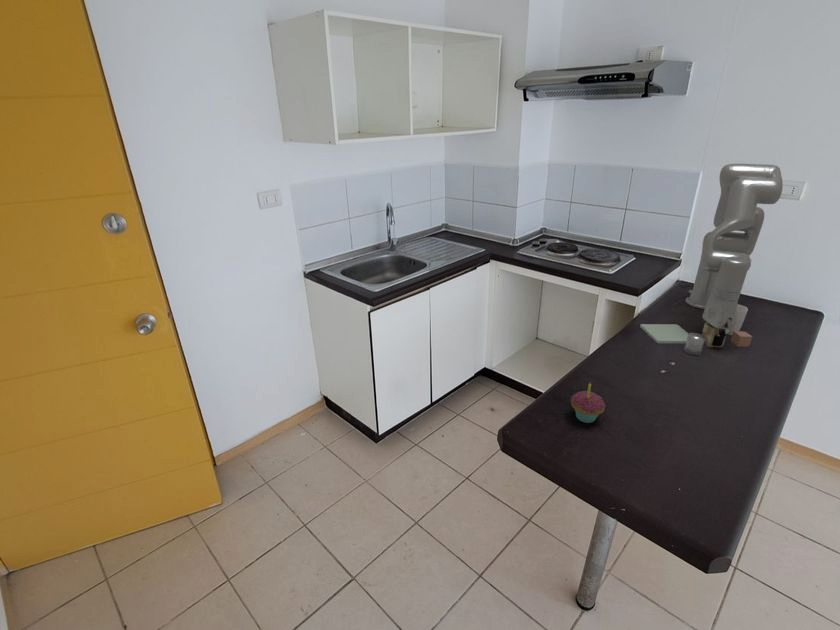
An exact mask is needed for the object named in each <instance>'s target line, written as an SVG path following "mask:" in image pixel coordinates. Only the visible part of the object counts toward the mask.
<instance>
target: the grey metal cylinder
mask: <svg viewBox="0 0 840 630" xmlns="http://www.w3.org/2000/svg"><path fill="white" fill-rule="evenodd" d="M704 341H705V336H703V335H702V333H701V334H700V333H698V332H697V333H696V332H689V333H688V337H687V341H686V344H685V345H684V348H683V351H684V352H685V353H687V354H688V355H693V356H699V355H700V356H701V354H702V350H703V347H704V345H705V344H704Z"/></svg>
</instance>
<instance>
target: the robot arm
mask: <svg viewBox="0 0 840 630" xmlns="http://www.w3.org/2000/svg"><path fill="white" fill-rule="evenodd" d="M782 177H783V176H782V172H781V169H780V167H779V166H778V165H776V164H763V163H762V164H760V163H759V164H757V163H728V164H725V165H723V166H722V168H721V169H720V173H719V186H720V195H719V196H720V197H719V200H718V202H717V203H718V204H717V206H716V210H715V213H714V217H713V226H714V227H715V228H714V229H713V230H711V231H709V232H707V233H706V234H705V235H704V236H703V239H702V247H701V256H700V259H699V265H698V268H697V272H696V273H697V274H696V276H695V280H694V283H693V288H692V289H690V290H688V293H689V294H690V296H687V297H686V298H685V303H686V304H687V305H689V306H691V307H694V308H696V309H697V308H698V309H702V310H703V313H702V319H703V320H704V324H705V323H709V324H711V325H712V326H714V327H715V328H717V333H716V335H715V336H714V339H713V343H712V345H713V346H722V344H723V340H724V337H725V336H726V337H727V336H729V335H728V334H730V333H732V332H733V330H732V326H733V323H734V320H735V316H736V312H737V305H738V303H739V299H740V296H741V292H742V290H743V286H744V284H745V279H746V278H747V277H746V276H747V273H748V271H749V270H750V267H751V265H752V258H751V257H750V256H751V255H752V254H753V252H754V250H755V247H756V244H757V242H758V238H759V236H760V233H761V230H762V228H763V225H764V220H765V210H764V209H763V208H761V207H758V206H757V205H758V204H759V205H774V204H776V203H777V202H778V201H779V200H780V199H781V196H782V193H783V178H782ZM721 329H723V331H722V332H720V331H721ZM723 345H724V344H723Z"/></svg>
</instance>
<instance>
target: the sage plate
mask: <svg viewBox="0 0 840 630" xmlns="http://www.w3.org/2000/svg"><path fill="white" fill-rule="evenodd" d="M639 327H640V329H642V330H643V331H644V332H645V333H646V334H647V335H648V336H649V337H650V338H651V339H652V340H653V341H654V342H656V344H681V345H682V344H685V345H686V341H687V337H688V334H689V333H688V332H687V331H686V330H685V329H684V328H682V327H681V326H680V325H678V324H675V323H674V324H673V323H672V324H670V323H669V324H668V323H667V324H664V323H663V324H661V323H660V324H659V323H657V324H656V323H655V324H654V323H653V324H652V323H651V324H649V323H648V324H645V323H641V324H640V325H639Z"/></svg>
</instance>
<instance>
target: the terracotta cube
mask: <svg viewBox="0 0 840 630" xmlns="http://www.w3.org/2000/svg"><path fill="white" fill-rule="evenodd" d="M752 339H753V336H752V335H750V333H748V332H746V331H742V330H741V331H740V330H739V331H733V334H732V335H731V337H730V342H731V344H734V345H735V346H736V347H741V348H742V347H745V348H746V347H750V345H751V342H752Z"/></svg>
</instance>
